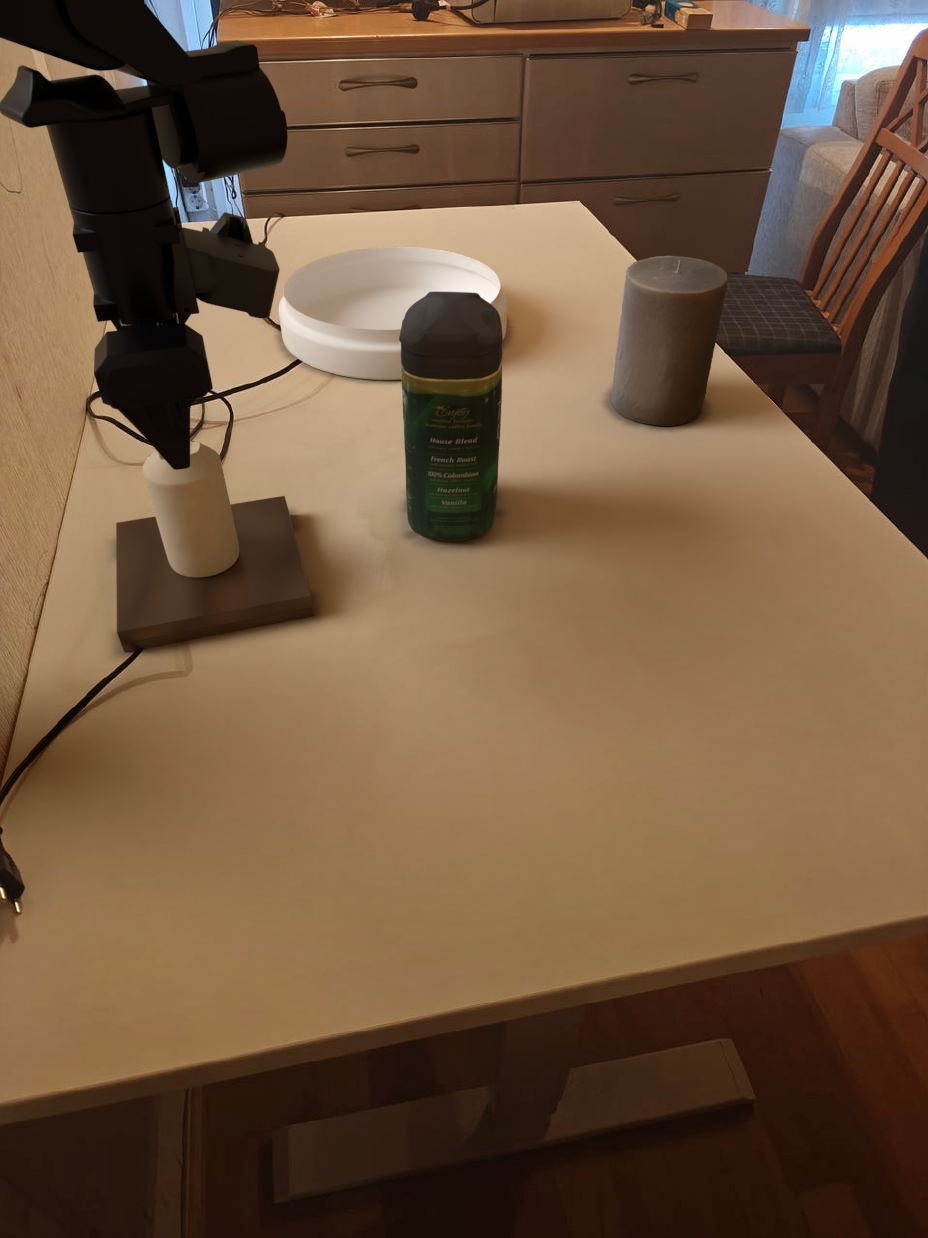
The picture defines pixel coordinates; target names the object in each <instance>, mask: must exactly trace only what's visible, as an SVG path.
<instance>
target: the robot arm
mask: <svg viewBox="0 0 928 1238" xmlns="http://www.w3.org/2000/svg"><path fill="white" fill-rule="evenodd" d="M0 39H3V40H6V41H8V42H11V43H14V44H16V45H19V46H22V47H25V48H28V49H31V50H34V51H36V52H38V53H39V52H40V53H42V54H45V55H48V56H50V57H54V58H57V59H59V60H63V61H65V62H68V63H71V64H73V65H76V66H80V67H82V68H85V69H89V70H93V71H97V72H105V71H118V72H121V73H123V74H125V75H126V74H127V75H129V76H131V77H135V78H138V79H141V80H143V81H146V85H139V86H134V87H127V88H117V89H115V88H114V86H113V85H112V84H111V83H110V81H108V80H107V79H106V78H105V77H104V76H102V75H99V74H96V73H95V74H87V75H81V76H73V77H65V78H59V79H52V80H51V79H50V80H49V79H48V78H46V76H45V75H43V73H42V72H41V71H39V70H37V69H34V68H31V67H29V66H26V65H23V64H22V65H21V64H20V65H19V66H18V67H17V71H16V76H15V79H14V82H13V83H12V86H11V87H10V88H9V89H8V90H7V92H6V93H5V95H4V96H3V98H2V99H1V100H0V114H1V115H2V116H4V117H6V118H7V119H10V120H12V121H13V122H15V123H17V124H20V125H21V126H24V127H26V128H27V129H34V128H40V127H45V126H46V130H47V133H48V137H49V141H50V143H51V147H52V150H53V154H54V156H55V161H56V164H57V165H56V166H57V168H58V171H59V175H60V178H61V182H62V185H63V189H64V192H65V196H66V200H67V202H68V203H67V204H68V207H69V210H70V214H71V218H72V221H73V227H72V238H73V241H74V245H75V248H76V251H77V253H82V256H83V260H84V262H85V267H86V270H87V274H88V277H89V280H90V284H91V287H92V291H93V299H92V301H93V302H92V307H93V310H94V313H95V316H96V321H97V323H101V322H109V321H110V322H111V324H112V325H113V327H114V328H115V330H110V331H109V330H108V331H106V332H105V334H104V335H103V336H102V337H101V339H100V340H99V342H98V343H97V344H96V346H95V347H94V354H93V355H94V356H93V357H94V359H93V375H94V379H95V382H96V385H97V388H98V391H99V395H100V398H101V401H102V404H104V405H107V406H110V408H111V409H113V410H117V411H119V412H120V414H121V415H123V416H124V418H125V419H126V420H127V421H128V422H129V423H131V425H132V426H133V427H134V428H135V429H136V430H137V431H138V432H139V433H140V434H141V435H142V436H143V437H144V438H145V439H146V441H148V443H149V444H150V445H151V446H152V448H154V450H155V451H156V450H157V451H158V453H159V454H160V455H161V456H162V457H163V458H164V459H165V460H166V461H167V463H168V464H169V465H170V466H171V467H172V468H173V469H175V470H179V469H186V468H189V467H190V440H191V408H192V406H193V404H195V402H196V401H197V400H198V399H201V398H204V397H206V396H207V395H208V393H209V392H210V391H212V390H214V386H213V382H212V381H213V380H212V376H211V371H210V365H209V360H208V355H207V350H206V346H205V339H204V336H203V335H202V334H201V333H200V332H198V331H197V330H195V329H193V328H192V327H191V326H189V325H188V324H187V321H188V320H189V318H190V317H191V315H196V314H200V309H199V303H198V301H201V302H202V303H205V304H208V305H212V306H216V307H221V308H226V309H230V310H234V311H239V312H242V313H243V312H244V313H247V314H248V316H249V317H252V318H256V319H268V318H270V316H271V313H272V308H273V303H274V298H275V294H276V289H277V284H278V279H279V274H280V270H281V269H280V266H279V264H278V261H277V257H276V255H275V253H274V251H272V250H271V249H270V248H268V247H266V244H265V242H262V241H258V242H257V243H254V240H253V237H252V233H251V230H250V227H249V224H248V221H247V218H246V217H244V216H241V215H238V214H233V213H229V212H225V211H224V212H223V213H222V214H221V215H220V217H219V218H218V220H217V221H216V222H215V223H214V224H213V226H212V227H211V228H210V229H209V227H203V226H202V229H201V230H197V229H192V228H187V227H183V223H182V219H181V218H182V217H181V213H180V209H179V206H174V204H173V200H172V197H171V193H170V188H169V184H168V179H167V174H166V169H165V165H164V163H165V164H166V166H168V167H169V168H170V169H177V170H178V171H179V173H180V174H181V175H182V177H183V178H184V179H186V180H187V181H188V182H189V183H191V184H201V183H205V182H210V181H214V180H219V179H224V178H228V177H232V176H233V177H234V176H238V175H243V174H247V173H252V172H255V171H261V170H265V169H270V168H274V167H277V166H278V165H280V164H281V163H282V162H283V160H284V158H285V156H286V153H287V149H288V148H287V147H288V123H287V118H286V113H285V111H284V110H283V109H282V108H281V105H280V101H279V98H278V95H277V92H276V90H275V88H274V86H273V85H272V83H271V81H270V79H269V76H267V74H266V73H265V72H264V70H263V69H262V68H261V67H260V60H259V51H258V47H257V46H256V45H255V44H253V43H250V42H245V41H241V40H238V39H237V40H228V41H223V42H219V43H217V44H215V45H213V46H211V47H207V48H200V49H199V48H198V49H193V50H184V49H183V47H182V46H181V44H180V43H179V42H178V41H177V40H176V39H175V38H174V36H173V35H172V34H171V33H170V32H169V30H168V29H167V28H166V27H165V26H164V24H163V23H162V22H161V21H160V19H159V17H157V16H156V15H155V13H154V12H153V11H152V10H151V9H150V7H149V6H148V4H146V0H0Z"/></svg>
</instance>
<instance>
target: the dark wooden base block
mask: <svg viewBox="0 0 928 1238" xmlns="http://www.w3.org/2000/svg"><path fill="white" fill-rule="evenodd" d="M230 506H231V510H232V515H233V520H234V524H235V529H236V534H237V538H238V544H239V556H238V559H237V561H236V562H235V563H234V564H233V565H232V566H231V567H230V568H228V569H227V570H225V571H223V572H221V573H219V574H216V575H212V576H208V577H199V578H196V577H187V576H183V575H181V574H178V573H177V572H175V571H174V570H173V569H172V567H171V565H170V563H169V561H168V558H167V555H166V551H165V548H164V544H163V541H162V537H161V534H160V530H159V527H158V523H157V520H156V516H155V515H154V516H149V517H143V518H138V519H131V520H125V521H118V522H116V523H115V526H116V527H115V542H116V543H115V547H116V548H115V550H116V551H115V553H116V557H115V559H116V561H115V563H116V566H115V567H116V568H115V571H116V575H115V576H116V577H115V578H116V579H115V580H116V635H117V637H118V640H119V643H120V646H121V648H122V651H123V652H130V651H134V650H141V649H146V648H152V647H156V646H162V645H166V644H172V643H177V642H182V641H189V640H193V639H198V638H203V637H209V636H214V635H219V634H224V633H230V632H234V631H241V630H246V629H250V628H257V627H261V626H266V625H272V624H275V623H276V624H277V623H281V622H287V621H293V620H297V619H303V618H309V617H313V616H314V614H315V613H314V607H313V600H312V596H311V592H310V591H311V590H310V588H309V584H308V580H307V575H306V572H305V567H304V563H303V561H302V555H301V553H300V549H299V545H298V541H297V537H296V533H295V530H294V526H293V523H292V519H291V515H290V511H289V507H288V503H287V500H286V495H279V496H274V497H267V498H262V499H261V498H260V499H256V500H249V501H243V502H236V503H230Z"/></svg>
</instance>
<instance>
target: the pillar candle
mask: <svg viewBox="0 0 928 1238" xmlns="http://www.w3.org/2000/svg"><path fill="white" fill-rule="evenodd" d="M728 281H729V276H728V273H727V272H726V270H725V269H724V268H722V267H720V266H719V265H717V264H715V263H712V262H710V261H708V260H704V259H700V258H696V257H688V256H677V255H676V256H675V255H663V256H662V255H660V256H657V255H656V256H653V257H652V256H651V257H648V258H644V259H639V260H638V261H634V262H633V263H631V264H630V265H629V266H627V268H626V270H625V280H624V287H623V295H622V303H621V314H620V318H619V320H620V322H619V327H618V337H617V343H616V344H617V346H616V353H615V358H614V359H615V361H614V369H613V370H614V371H613V377H612V384H611V385H612V386H611V393H610V402H611V406H612V408H613V409H614V410H615V411H616V412H617V413H618V414H619V415H621V416H622V417H624V418H627V419H629V420H631V421H634V422H636V423H641V424H647V425H655V426H659V427H671V426H672V427H673V426H674V427H675V426H681V425H683V424H684V425H685V424H687V423H690V422H692V421H694V420H695V419H697V418H698V417H700V416H701V414H703V408H704V407H703V406H704V401H705V398H706V394H707V389H708V383H709V379H710V373H711V369H712V363H713V358H714V352H715V349H716V348H715V347H716V344H717V343H716V342H717V338H718V332H719V329H720V328H719V327H720V323H721V316H722V313H723V308H724V302H725V297H726V293H727V292H726V291H727V287H728Z"/></svg>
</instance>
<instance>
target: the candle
mask: <svg viewBox="0 0 928 1238" xmlns="http://www.w3.org/2000/svg"><path fill="white" fill-rule="evenodd" d="M142 475H143V477H144V481H145V485H146V488H147V491H148V494H149V500H150V502H151V506H152V510H153V514H154V517H155V516H156V520H157V523H158V527H159V530H160V534H161V537H162V541H163V544H164V548H165V551H166V555H167V558H168V561H169V563H170V565H171V567H172V569H173V570H174V571H175V572H177V573H178V574H181V575H183V576H187V577H196V578H199V577H208V576H212V575H216V574H219V573H221V572H223V571H225V570H227V569H228V568H230V567H231V566H232V565H233V564H234V563H235V562H236V561H237V559H238V556H239V544H238V538H237V534H236V529H235V524H234V520H233V515H232V510H231V506H230V504H231V501H230V496H229V492H228V488H227V483H226V478H225V474H224V469H223V465H222V459H221V455H220V454H219V453H218V452H217V451H216V450H215V449H214V448H211V446H208V445H206V444H204V443H201V441H194V440H191V439H190V467H189V468H186V469H179V470H175V469H173V468H172V467H171V466H170V465H169V464H168V463H167V461H166V460H165V459H164V458H163V457H162V456H161V455H160V454H159V453H158V451H157V450H156V449H155V450H154V451H153V452H152V453H151V454H150V455H149V456H148V457H147V459H145V462H144V463H143V465H142Z"/></svg>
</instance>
